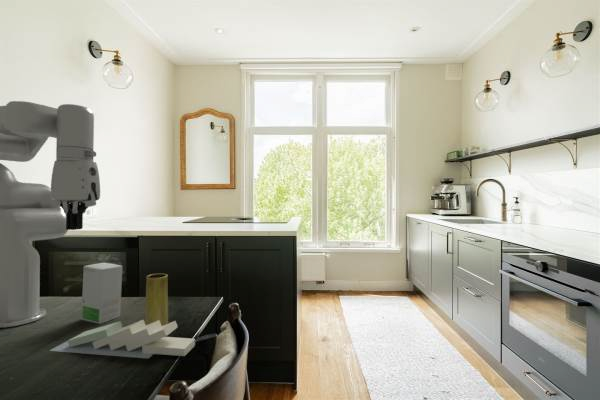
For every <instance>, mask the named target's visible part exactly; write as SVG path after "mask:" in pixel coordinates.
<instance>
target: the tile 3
mask: <svg viewBox="0 0 600 400" xmlns="http://www.w3.org/2000/svg"><path fill="white" fill-rule="evenodd" d="M161 326H162V325H161V323H160V320H158V321H156V322H153V323H151V324H148V325H146V326H144V327H143V328H141V329H140V330H138V331H137V332H135V333H134V334H132V335H129V336H127V337H124V338H122V339H119V340H117V341H114V342H112V343H110V344H109V346H110V348H111V351H112V350H114V349H117V348H119V347H121V346H124V345H126V344H129V343H131V342H134V341H136V340H139V339H141V338H144V337H146V336H149V335H150V334H152V333H153V332H154V331H156V330H157V329H159V328H160V327H161Z"/></svg>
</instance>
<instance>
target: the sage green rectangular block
mask: <svg viewBox="0 0 600 400" xmlns="http://www.w3.org/2000/svg"><path fill="white" fill-rule="evenodd" d="M123 327H124V326H123V324H122V321H116V322H113V323H109V324H106V325H103V326H100V327H96V328H93V329H92V328H91V329H89V330H85V331H83V332H81V333H80V334H78V335H75V336H74V337H71V338H70V339H68V340H67V341H68V344H69V347H72V346H76V345H79V344H83V343H87V342H90V341H94V340H97V339H101V338H104V337H108V336H109V335H111V334H113V333H114V332H116V331H118V330H119V329H121V328H123Z"/></svg>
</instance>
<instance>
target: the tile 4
mask: <svg viewBox="0 0 600 400" xmlns="http://www.w3.org/2000/svg"><path fill="white" fill-rule="evenodd" d="M176 321H177V320H174V321H170V322H168V324H166V325H164V326H161V327H160V328H159V329H157V330H156V331H154V332H153V333H152V334H150V335H149V336H146V337H144V338H141V339H139V340H136V341H134V342H131V343H129V344H126V348H127V350H128V351H131V350H133V349H136V348H138V347H141V346H143V345H146V344H148V343H151V342H153V341H155V340H158V339H160V338H163V337H168V335H170V334H171V333H172V332H173V331H175V330H176V329H177V328H178V327H179V326H178V324H177V322H176Z"/></svg>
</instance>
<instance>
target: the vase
mask: <svg viewBox="0 0 600 400" xmlns="http://www.w3.org/2000/svg"><path fill="white" fill-rule="evenodd" d="M168 277H169V275H168V273H167V274H166V273H163V272H162V273H152V274H149V275H146V278H145V279H146V280H145V281H146V282H145V316H144V322H145V325H148V324H151V323H153V322H156V321H158V320H160V323H161V325H162V326H164V325H166V324H168V323H169V297H168V296H169V295H168V293H169V291H168V281H169V279H168Z"/></svg>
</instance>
